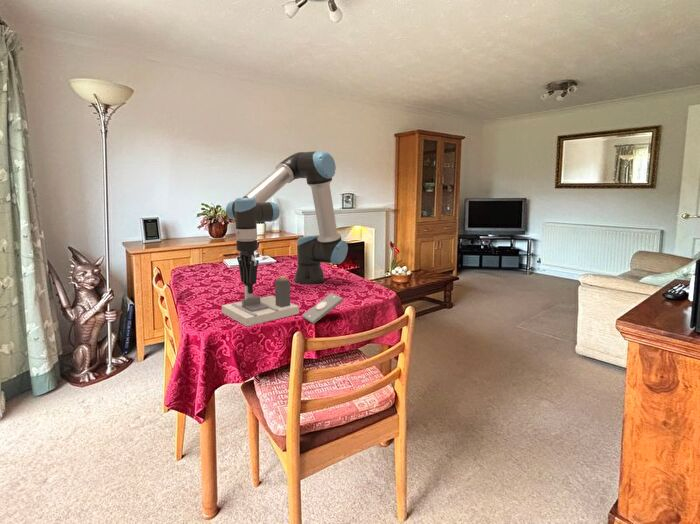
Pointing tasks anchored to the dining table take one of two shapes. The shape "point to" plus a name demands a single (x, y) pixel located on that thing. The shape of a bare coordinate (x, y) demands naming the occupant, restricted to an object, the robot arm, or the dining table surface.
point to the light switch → (322, 308)
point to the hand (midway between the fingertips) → (249, 301)
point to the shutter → (253, 304)
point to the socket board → (259, 312)
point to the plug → (282, 291)
